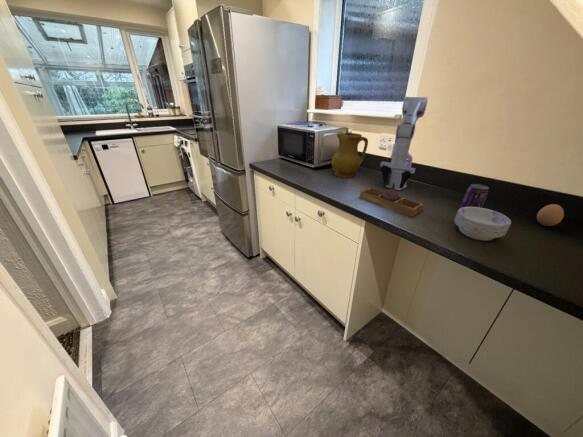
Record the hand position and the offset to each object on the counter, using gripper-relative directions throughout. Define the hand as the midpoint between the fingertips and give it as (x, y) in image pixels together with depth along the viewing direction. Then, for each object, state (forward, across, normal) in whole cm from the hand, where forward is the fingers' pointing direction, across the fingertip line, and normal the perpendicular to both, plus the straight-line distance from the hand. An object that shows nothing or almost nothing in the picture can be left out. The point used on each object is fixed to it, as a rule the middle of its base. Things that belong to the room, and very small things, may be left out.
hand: (392, 185), depth 104 cm
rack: (+9, 0, 0) cm, 9 cm away
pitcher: (+9, -40, +20) cm, 45 cm away
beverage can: (+9, +27, +19) cm, 34 cm away
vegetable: (+9, 0, 0) cm, 9 cm away
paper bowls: (+9, +34, 0) cm, 36 cm away
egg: (+9, +50, +28) cm, 59 cm away
